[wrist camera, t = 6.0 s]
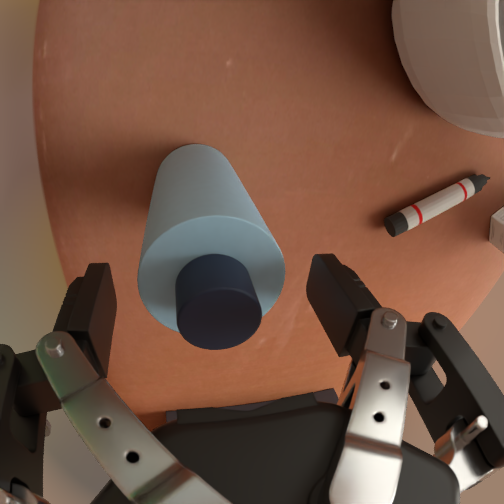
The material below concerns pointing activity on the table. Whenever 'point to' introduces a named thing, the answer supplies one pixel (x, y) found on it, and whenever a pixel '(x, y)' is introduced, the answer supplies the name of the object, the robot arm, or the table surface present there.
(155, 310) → the water bottle
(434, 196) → the marker
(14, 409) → the robot arm
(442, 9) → the mug
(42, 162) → the table surface
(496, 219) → the ink box
